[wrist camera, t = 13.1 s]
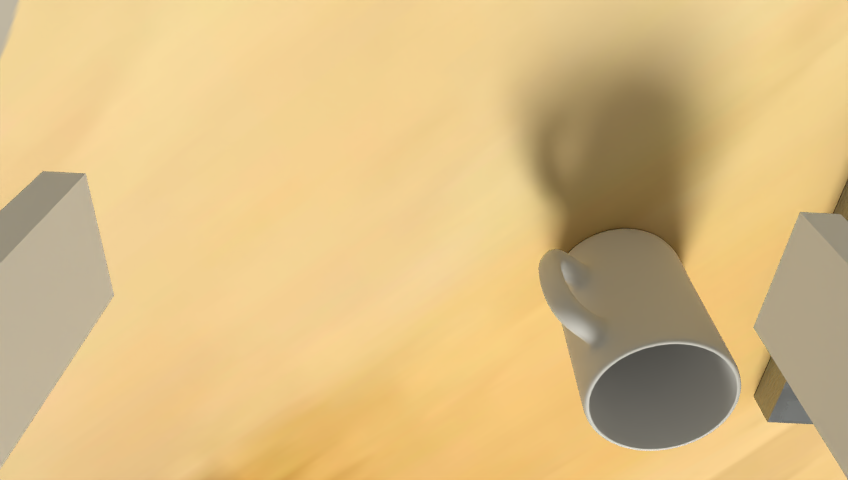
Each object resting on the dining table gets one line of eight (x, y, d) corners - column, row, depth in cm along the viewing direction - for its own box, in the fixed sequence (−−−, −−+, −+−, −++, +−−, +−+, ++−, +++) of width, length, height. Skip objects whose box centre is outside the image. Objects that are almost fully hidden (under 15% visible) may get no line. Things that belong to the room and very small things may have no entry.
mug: (707, 272, 46) (777, 390, 36) (613, 348, 49) (655, 473, 40) (578, 172, 42) (620, 275, 32) (487, 262, 45) (502, 379, 36)
